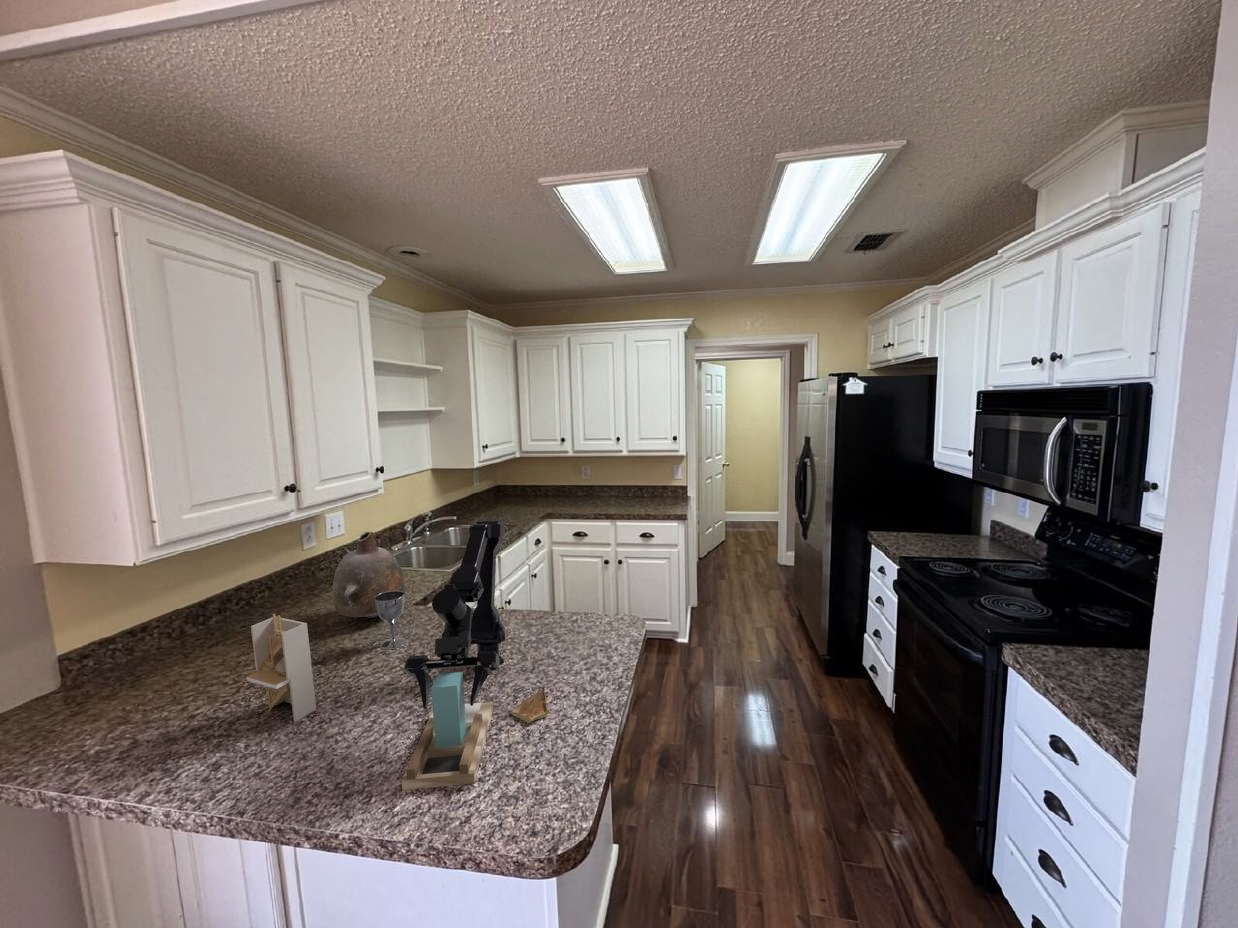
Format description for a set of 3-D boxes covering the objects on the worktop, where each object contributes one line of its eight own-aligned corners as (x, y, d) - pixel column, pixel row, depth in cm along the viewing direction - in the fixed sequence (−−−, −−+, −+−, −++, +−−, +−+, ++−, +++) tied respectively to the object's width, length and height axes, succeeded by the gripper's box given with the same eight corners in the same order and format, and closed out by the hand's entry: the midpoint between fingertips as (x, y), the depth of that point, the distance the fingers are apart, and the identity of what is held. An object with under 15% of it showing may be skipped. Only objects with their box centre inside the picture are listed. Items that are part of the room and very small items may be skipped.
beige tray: (435, 714, 112) (433, 698, 111) (492, 709, 113) (491, 693, 112) (402, 790, 90) (400, 770, 89) (474, 783, 91) (472, 763, 91)
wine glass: (407, 646, 144) (403, 598, 142) (377, 652, 141) (373, 602, 139) (408, 635, 151) (404, 588, 149) (380, 640, 148) (375, 593, 146)
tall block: (442, 731, 103) (437, 673, 101) (466, 729, 103) (462, 671, 102) (435, 747, 98) (430, 687, 96) (461, 745, 98) (456, 685, 97)
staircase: (283, 700, 119) (271, 601, 116) (316, 710, 115) (305, 607, 112) (249, 720, 112) (235, 614, 109) (283, 731, 108) (270, 622, 105)
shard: (544, 692, 120) (543, 685, 120) (567, 703, 115) (567, 696, 115) (510, 716, 111) (510, 708, 111) (534, 728, 107) (533, 721, 107)
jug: (341, 609, 171) (332, 526, 167) (407, 598, 179) (400, 519, 176) (330, 640, 149) (320, 545, 145) (406, 626, 157) (398, 535, 153)
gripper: (403, 620, 102) (388, 701, 92) (494, 614, 103) (488, 693, 94) (418, 638, 110) (405, 714, 101) (501, 632, 112) (497, 706, 102)
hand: (448, 707), depth 99 cm, fingers open, 9 cm apart
